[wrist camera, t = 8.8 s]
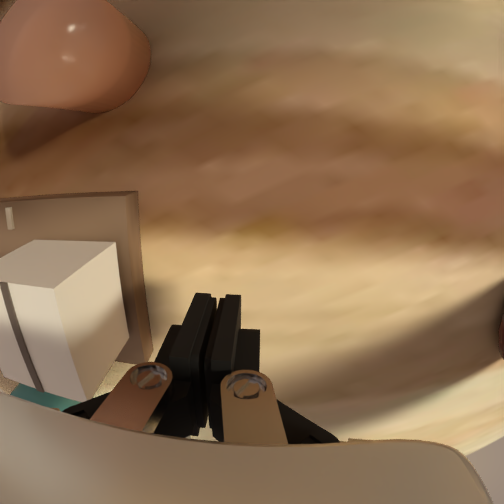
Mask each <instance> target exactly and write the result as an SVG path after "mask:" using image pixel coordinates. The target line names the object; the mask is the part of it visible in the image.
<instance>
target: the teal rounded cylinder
mask: <svg viewBox="0 0 504 504" xmlns="http://www.w3.org/2000/svg"><path fill="white" fill-rule="evenodd" d="M10 395H12V396H15V397H18V398H21V399H24V400H27V401H30V402H33V403H36V404H39V405H42V406H45V407H50V408H59V409H60V411H61V412H62V411H63V410H64V409H66V408H68V407H70V406H73V405H76V404H79V403H82V402H79V401H75V400H72V399H68V398H65V397H61V396H58V395H54V394H51V393H48V392H44V393H42V392H39V391H37V390H36V388H33V387H30V386H27V385H24V384H21V383H19V384H18V385H17V386H16V388H15V389H14V390H13V391H12V393H11V394H10ZM92 399H93V398H92Z"/></svg>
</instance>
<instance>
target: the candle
mask: <svg viewBox="0 0 504 504" xmlns="http://www.w3.org/2000/svg"><path fill="white" fill-rule="evenodd" d="M499 352H500V355H501V357H502V358H503V359H504V313H503V316H502V321H501V324H500V327H499Z"/></svg>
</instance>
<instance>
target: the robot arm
mask: <svg viewBox="0 0 504 504" xmlns="http://www.w3.org/2000/svg"><path fill="white" fill-rule="evenodd" d="M259 358H260V330H257V329H241V295H229V294H226V297H225V298H220V300H219V304H218V308H217V301H216V298H212V297H211V294H208V293H196V294H195V296H194V298H193V300H192V303H191V305H190V307H189V309H188V312H187V314H186V316H185V319H184V321H183V323H182V325H172V326H171V327H170V329H169V331H168V333H167V336H166V338H165V340H164V342H163V344H162V346H161V348H160V350H159V353H158V355H157V357H156V359H155V361H154V362H144V363H140V364H137V365H135V366H133V367H132V368H130V369H129V370H128V371H127V372H126V374H125V375H124V376H123V377H122V379H121V380H120V381H119V383H118V384H117V385H116V386H115V388H114V389H113V390H112V391H111V392H109V393H106V394H104V395H101V396H98V397H95V398H93V399H90V400H87V401H84V402H82V403H79V404H76V405H73V406H70V407H68V408H66V409H64V410H63V411H62V412H61V411H60V409H59V408H50V407H45V406H42V405H39V404H36V403H33V402H30V401H27V400H24V399H21V398H18V397H15V396H12V395H9V394H6V393H3V392H0V504H494V503H493V501H492V498H491V496H490V494H489V492H488V490H487V488H486V486H485V484H484V483H483V481H482V479H481V477H480V476H479V474H478V473H477V471H476V469H475V468H474V467H473V465H472V464H471V462H470V461H469V460H468V459H467V458H466V457H465V456H464V455H463V454H462V453H461V452H459V451H458V450H457V449H455V448H453V447H451V446H448V445H444V444H441V443H436V442H430V441H422V440H406V439H390V440H362V439H350V438H349V439H348V441H347V442H344V441H339V440H338V439H337V438H336V437H335V436H334V435H332V434H331V433H329V432H328V431H326V430H324V429H323V428H321V427H319V426H318V425H316V424H314V423H313V422H311V421H310V420H308V419H306V418H305V417H303V416H302V415H300V414H298V413H297V412H295V411H294V410H292V409H291V408H289V407H288V406H286V405H284V404H283V403H281V402H280V401H278V400H277V399H276V396H275V393H274V389H273V385H272V383H271V381H270V379H269V378H268V377H267V376H266V375H264V374H262V373H260V372H259ZM208 416H209V426H210V428H212V433H213V437H214V438H216V439H217V440H218V441H219V442H217V441H206V440H197V439H188V438H186V437H188V436H190V435H192V436H198V434H199V429H200V427H201V428H205V427H206V423H207V417H208Z"/></svg>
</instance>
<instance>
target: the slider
mask: <svg viewBox="0 0 504 504" xmlns="http://www.w3.org/2000/svg"><path fill="white" fill-rule="evenodd" d="M128 339H129V333H128V328H127V322H126V316H125V310H124V304H123V298H122V291H121V284H120V276H119V268H118V260H117V250H116V242H97V241H63V240H33V241H31V242H29V243H27V244H25V245H23V246H21V247H20V248H18V249H16V250H14V251H12V252H10V253H8V254H7V255H5V256H3V257H1V258H0V369H1V371H2V374H3V376H4V377H6V378H8V379H11V380H13V381H16V382H19V383H21V384H24V385H27V386H30V387H33V388H36V390H37V391H39V392H42V393H44V392H48V393H51V394H54V395H58V396H61V397H65V398H68V399H72V400H75V401H79V402H84V401H87V400H90V399H92V398H93V396H94V394H95V392H96V391H97V389H98V387H99V386H100V384H101V382H102V381H103V379H104V377H105V376H106V374H107V373H108V371H109V369H110V368H111V366H112V364H113V363H114V361H115V360H116V358H117V356H118V355H119V353H120V351H121V350H122V348H123V347H124V345H125V344H126V342H127V340H128Z"/></svg>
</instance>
